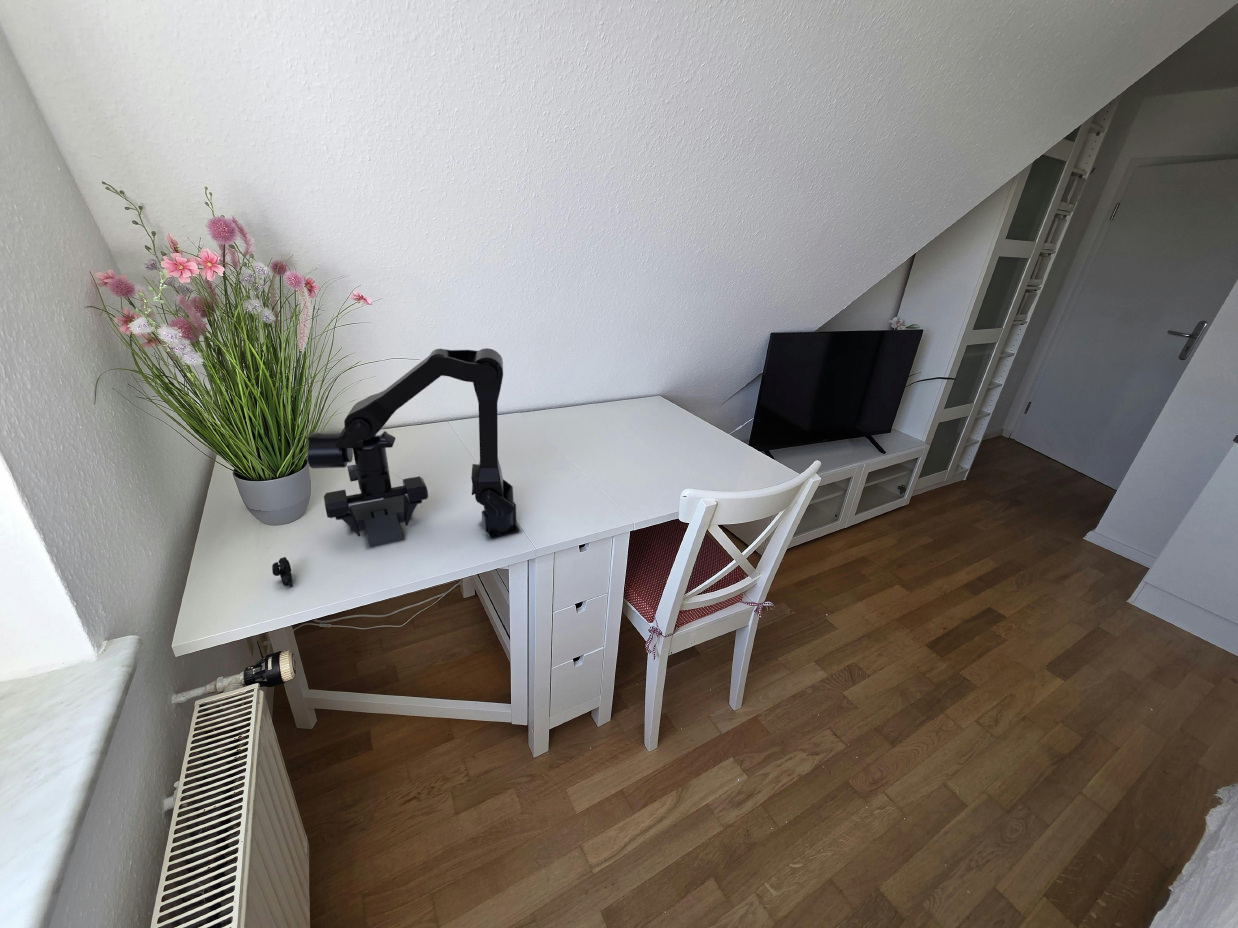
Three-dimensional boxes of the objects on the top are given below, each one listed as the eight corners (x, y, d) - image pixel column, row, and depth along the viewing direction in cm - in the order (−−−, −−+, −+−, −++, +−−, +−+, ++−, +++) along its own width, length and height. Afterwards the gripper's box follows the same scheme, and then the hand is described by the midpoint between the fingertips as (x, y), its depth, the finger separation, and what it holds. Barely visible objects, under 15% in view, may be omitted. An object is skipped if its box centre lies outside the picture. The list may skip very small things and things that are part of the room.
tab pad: (395, 516, 114) (394, 507, 113) (403, 539, 107) (401, 530, 106) (364, 523, 111) (362, 513, 110) (369, 547, 104) (368, 537, 103)
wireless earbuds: (294, 592, 92) (287, 571, 89) (277, 597, 91) (270, 575, 88) (292, 569, 97) (286, 548, 95) (276, 573, 96) (269, 552, 93)
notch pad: (403, 499, 121) (402, 490, 120) (410, 519, 114) (409, 510, 113) (347, 510, 115) (345, 501, 114) (351, 532, 108) (349, 522, 107)
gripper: (414, 441, 111) (421, 501, 118) (316, 455, 102) (330, 520, 110) (424, 463, 103) (432, 527, 110) (319, 481, 94) (334, 549, 101)
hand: (383, 529), depth 108 cm, fingers open, 9 cm apart
